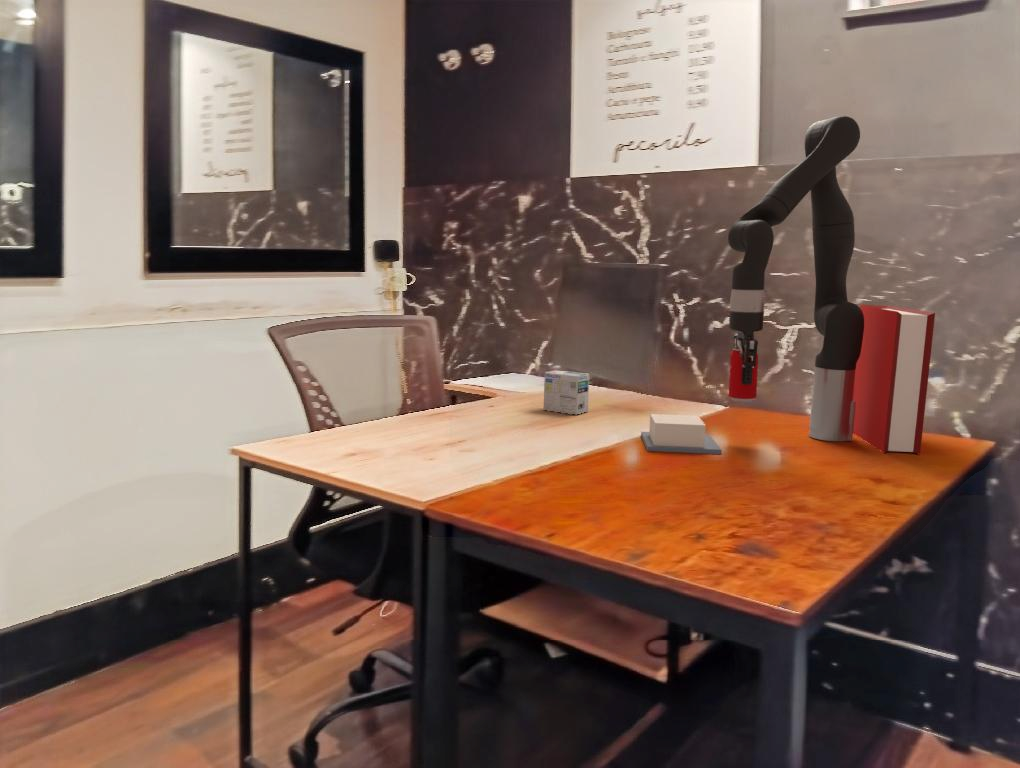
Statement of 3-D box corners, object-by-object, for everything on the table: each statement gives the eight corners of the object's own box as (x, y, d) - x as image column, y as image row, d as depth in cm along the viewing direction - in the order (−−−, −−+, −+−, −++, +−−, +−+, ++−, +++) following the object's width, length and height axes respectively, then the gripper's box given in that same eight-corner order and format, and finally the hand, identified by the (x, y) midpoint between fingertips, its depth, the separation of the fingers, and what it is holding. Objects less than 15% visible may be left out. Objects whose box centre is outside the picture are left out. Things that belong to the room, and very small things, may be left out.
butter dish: (708, 438, 199) (710, 413, 198) (721, 454, 183) (723, 427, 183) (641, 435, 200) (642, 410, 199) (647, 450, 184) (649, 424, 184)
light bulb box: (588, 412, 229) (590, 373, 227) (577, 415, 223) (578, 375, 222) (554, 407, 235) (555, 369, 233) (542, 411, 229) (543, 371, 227)
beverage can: (753, 398, 197) (756, 347, 195) (758, 402, 191) (761, 350, 189) (726, 397, 198) (728, 346, 196) (730, 402, 191) (733, 349, 190)
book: (920, 455, 189) (935, 312, 184) (883, 453, 190) (897, 311, 185) (878, 430, 216) (890, 305, 211) (846, 429, 216) (858, 304, 212)
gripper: (771, 311, 184) (767, 387, 186) (756, 307, 198) (752, 378, 201) (736, 311, 184) (733, 386, 187) (723, 307, 198) (720, 377, 201)
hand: (743, 382), depth 194 cm, fingers closed on beverage can, 6 cm apart
